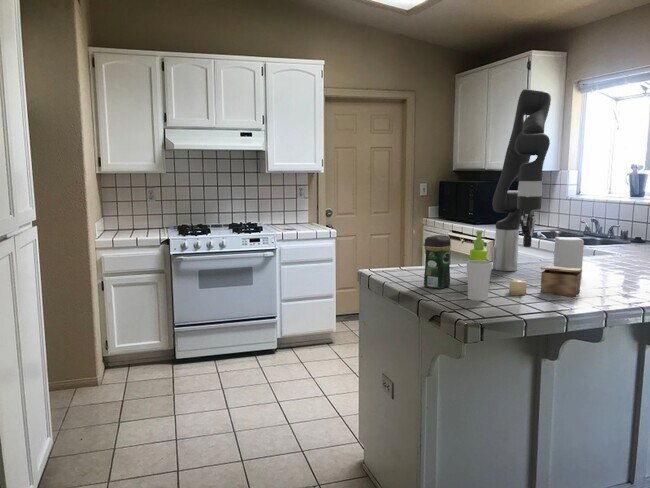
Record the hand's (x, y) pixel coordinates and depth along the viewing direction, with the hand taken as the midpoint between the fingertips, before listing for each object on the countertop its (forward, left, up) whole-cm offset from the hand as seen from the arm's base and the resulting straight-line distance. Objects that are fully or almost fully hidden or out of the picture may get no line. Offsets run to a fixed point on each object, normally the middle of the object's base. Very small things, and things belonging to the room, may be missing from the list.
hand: (527, 246), depth 180 cm
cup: (-11, -16, -16) cm, 25 cm away
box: (+10, +8, -16) cm, 20 cm away
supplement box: (+7, +42, -16) cm, 46 cm away
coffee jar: (-29, -6, -16) cm, 34 cm away
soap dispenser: (-17, +3, -16) cm, 24 cm away
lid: (+10, +8, -8) cm, 15 cm away
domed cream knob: (-2, -1, -16) cm, 16 cm away
